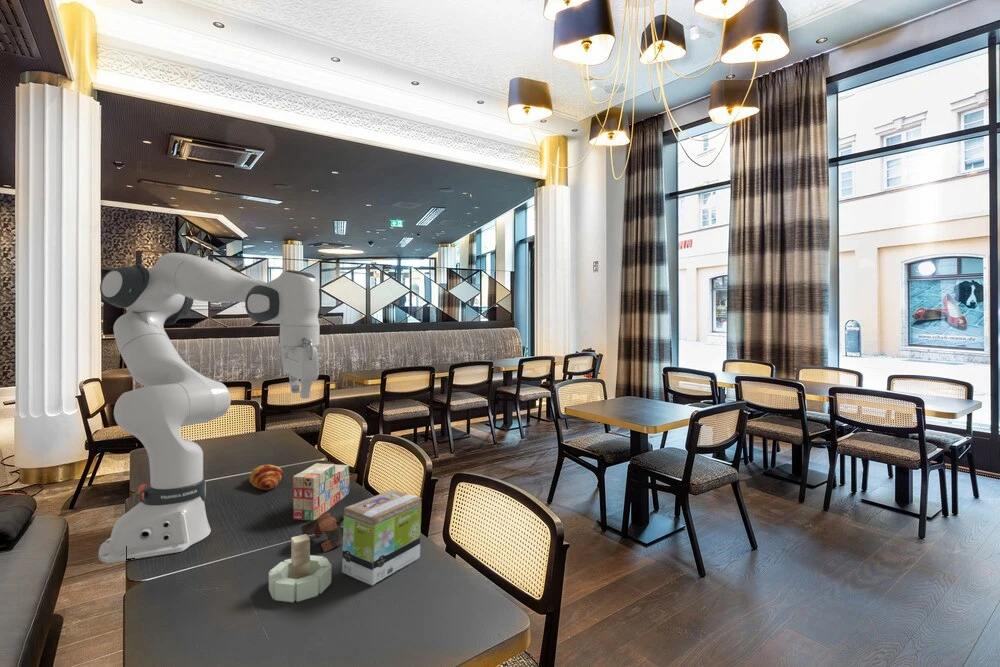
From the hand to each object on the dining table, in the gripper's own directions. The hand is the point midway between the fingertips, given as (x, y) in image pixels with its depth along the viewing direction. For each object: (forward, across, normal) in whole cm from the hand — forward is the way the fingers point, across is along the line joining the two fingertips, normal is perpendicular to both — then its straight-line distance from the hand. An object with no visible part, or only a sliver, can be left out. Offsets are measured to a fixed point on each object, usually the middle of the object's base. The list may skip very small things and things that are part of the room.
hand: (299, 395), depth 117 cm
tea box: (+37, -20, -13) cm, 44 cm away
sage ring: (+37, -18, +4) cm, 41 cm away
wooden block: (+37, -18, +4) cm, 41 cm away
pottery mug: (+38, -1, -6) cm, 38 cm away
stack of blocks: (+38, +24, -12) cm, 46 cm away
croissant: (+38, +54, -2) cm, 65 cm away
